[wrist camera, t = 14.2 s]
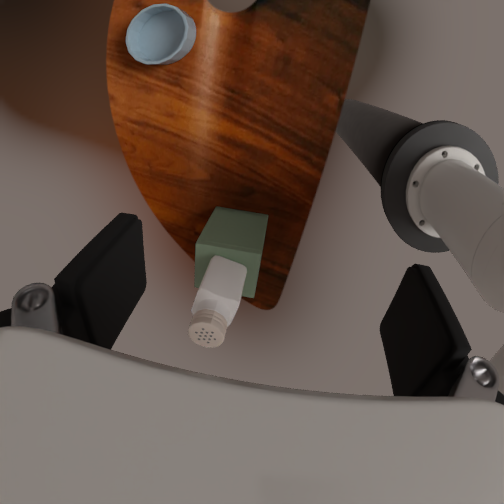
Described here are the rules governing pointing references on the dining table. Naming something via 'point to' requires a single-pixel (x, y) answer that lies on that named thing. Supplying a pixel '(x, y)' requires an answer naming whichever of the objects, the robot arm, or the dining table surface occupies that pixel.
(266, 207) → the dining table surface
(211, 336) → the salt shaker
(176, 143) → the dining table surface
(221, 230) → the lidded olive box
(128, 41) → the holder cup
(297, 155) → the dining table surface
